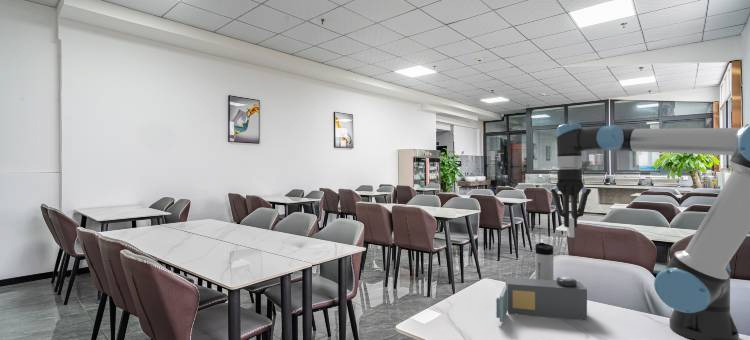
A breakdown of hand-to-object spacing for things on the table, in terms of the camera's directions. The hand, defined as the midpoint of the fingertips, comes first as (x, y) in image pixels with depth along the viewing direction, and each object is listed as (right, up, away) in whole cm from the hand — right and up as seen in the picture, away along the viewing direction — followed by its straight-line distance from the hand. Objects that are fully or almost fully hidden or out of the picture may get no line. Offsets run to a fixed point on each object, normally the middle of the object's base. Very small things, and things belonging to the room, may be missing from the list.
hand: (570, 236), depth 125 cm
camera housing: (-10, -25, -2) cm, 28 cm away
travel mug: (-3, -26, +13) cm, 29 cm away
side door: (-26, -25, -7) cm, 37 cm away
